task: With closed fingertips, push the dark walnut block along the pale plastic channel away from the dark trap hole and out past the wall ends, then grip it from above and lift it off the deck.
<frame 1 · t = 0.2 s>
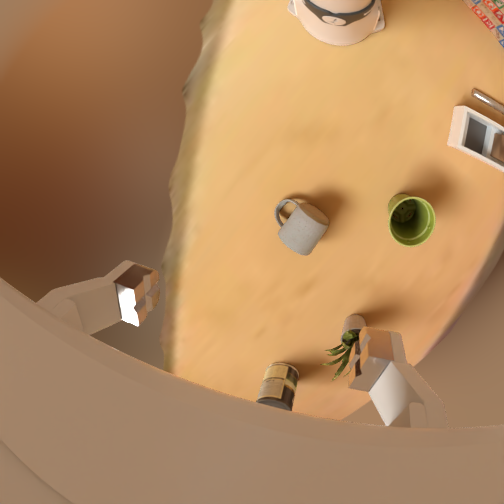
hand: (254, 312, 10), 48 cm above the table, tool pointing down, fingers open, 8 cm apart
ceramic mug: (300, 218, 58), on the table
coffee can: (282, 372, 80), on the table
walnut block: (500, 149, 36), point 2 cm above the table, touching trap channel
plant pot: (401, 207, 51), on the table
steel rod: (495, 106, 35), on the table, tilted 6°
stack of blocks: (480, 9, 24), on the table
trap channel: (493, 146, 39), on the table
house plant: (350, 319, 66), on the table
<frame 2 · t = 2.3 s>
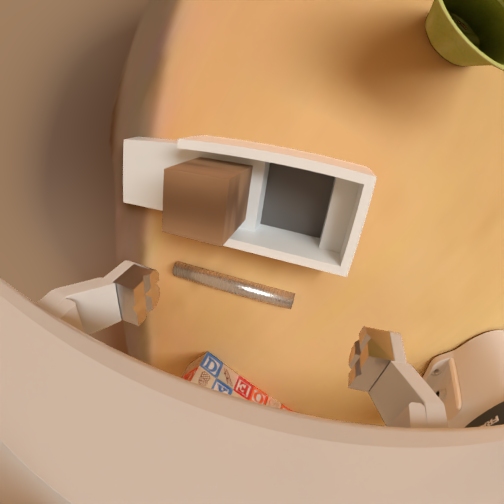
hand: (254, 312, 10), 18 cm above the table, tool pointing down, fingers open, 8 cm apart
walnut block: (222, 187, 25), point 2 cm above the table, touching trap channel
plant pot: (451, 37, 15), on the table
steel rod: (229, 288, 31), point 1 cm above the table, tilted 176°
stack of blocks: (249, 394, 42), on the table
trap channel: (236, 183, 27), on the table
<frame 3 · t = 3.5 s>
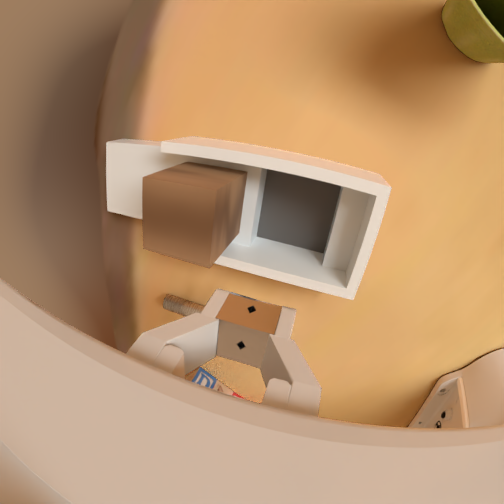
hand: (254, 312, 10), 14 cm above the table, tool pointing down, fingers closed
walnut block: (213, 196, 22), point 2 cm above the table, touching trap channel
plant pot: (469, 31, 12), on the table
steel rod: (226, 314, 31), on the table, tilted 18°
stack of blocks: (245, 410, 39), on the table
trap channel: (229, 190, 24), on the table
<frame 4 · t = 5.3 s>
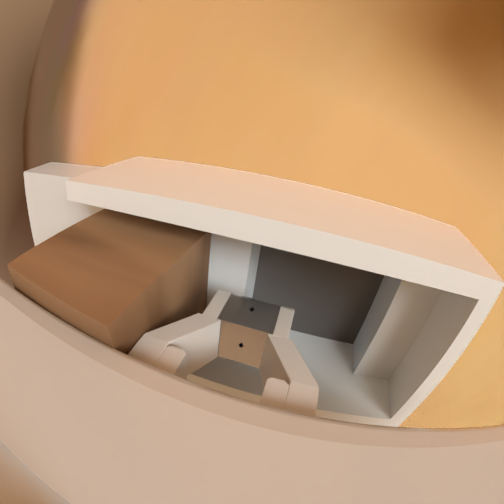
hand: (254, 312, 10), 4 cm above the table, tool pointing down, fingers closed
walnut block: (158, 265, 12), point 3 cm above the table, touching gripper
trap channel: (202, 247, 14), on the table
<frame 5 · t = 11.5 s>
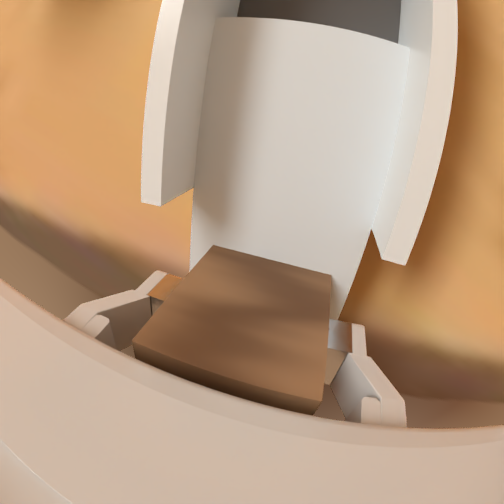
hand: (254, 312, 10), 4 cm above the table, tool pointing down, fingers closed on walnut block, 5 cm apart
walnut block: (261, 307, 13), point 2 cm above the table, touching gripper, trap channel
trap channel: (305, 103, 11), on the table
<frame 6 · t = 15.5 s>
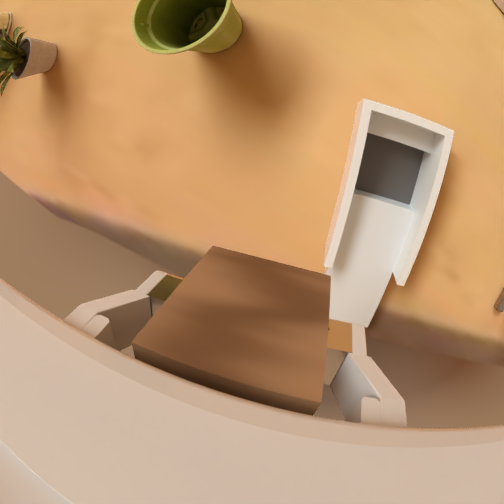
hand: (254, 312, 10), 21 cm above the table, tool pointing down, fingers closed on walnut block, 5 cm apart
coffee can: (2, 31, 25), on the table
walnut block: (261, 308, 13), point 19 cm above the table, touching gripper
plant pot: (215, 30, 23), on the table
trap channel: (371, 221, 28), on the table
house plant: (51, 50, 27), on the table
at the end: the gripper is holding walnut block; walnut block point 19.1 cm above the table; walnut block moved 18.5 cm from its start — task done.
